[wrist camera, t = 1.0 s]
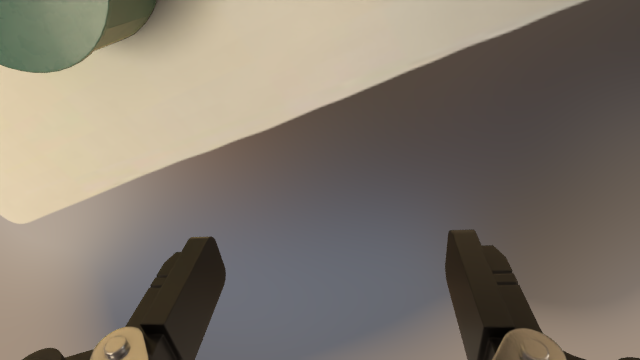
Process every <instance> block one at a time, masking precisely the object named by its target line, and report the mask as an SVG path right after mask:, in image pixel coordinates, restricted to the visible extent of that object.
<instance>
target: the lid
mask: <svg viewBox="0 0 640 360" xmlns="http://www.w3.org/2000/svg"><path fill="white" fill-rule="evenodd" d="M111 10H112V0H0V65H3V66H5V67H8V68H12V69H16V70H20V71H26V72H34V73H48V72H55V71H60V70H63V69H66V68H69V67H72V66H74V65H76V64H78V63H79V62H81V61H83V60H84V59H85V58H87V57H88V56H89V55H90V54H91V53H92V52H93V51H94V50H95V49H96V48H97V46H98V45H99V43H100V42H101V40H102V38H103V36H104V35H105V32H106V29H107V27H108V24H109V20H110V15H111Z"/></svg>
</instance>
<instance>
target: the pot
mask: <svg viewBox="0 0 640 360" xmlns="http://www.w3.org/2000/svg"><path fill="white" fill-rule="evenodd" d="M155 4H156V0H112V10H111V15H110V20H109V24H108V27H107V29H106V32H105V35H104V36H103V38H102V40H101V42H100V43H99V45H98V46H97V48H96V49H95V50H97V49H100V48H103V47H105V46H108V45H110V44H113V43H115V42H118V41H120V40H122V39H125V38H127V37H129V36H131V35H133V34H135V33H136V31H138V30H139V29H140V28H141V27H142V26H143V25H144V24H145V23H146V21H147V20H148V18H149V17H150V15H151V13H152V11H153V9H154V6H155ZM95 50H94V51H95Z"/></svg>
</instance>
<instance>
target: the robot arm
mask: <svg viewBox="0 0 640 360" xmlns="http://www.w3.org/2000/svg"><path fill="white" fill-rule="evenodd" d="M445 272H446V280H447V285H448V288H449V292H450V296H451V300H452V303H453V307H454V310H455V314H456V318H457V322H458V325H459V329H460V333H461V337H462V340H463V344H464V348H465V351H466V355H467V359H468V360H585V359H581V358H578V357H576V356H573V355H571V354H568V353H566V352H565V351H563V350H562V349H561V348H560V346H559V345H558V344H557V343H556V342H555V341H553V340H552V339H551V338H549V337H548V336H546V335H545V334H543V333H542V331H541V329H540V327H539V325H538V323H537V321H536V319H535V317H534V315H533V313H532V311H531V309H530V307H529V304H528V302H527V300H526V298H525V296H524V294H523V292H522V290H521V288H520V286H519V285H518V282H517V279H516V278H515V275H514V274H513V273H512V269H511V267H510V265H509V263H508V261H507V259H506V257H505V256H504V255H503V254H502V253H501V252H500V251H499V250H497V249H496V248H495V247H494V246H493V245H492V246H490V245H489V246H481V244H480V241H479V239H478V236H477V234H476V232H475V231H474V230H450V231H449V233H448V242H447V252H446V263H445ZM225 276H226V272H225V267H224V263H223V261H222V258H221V255H220V252H219V249H218V246H217V243H216V241H215V239H214V238H213V237H191V238H190V239H189V240H188V241H187V243H186V245H185V247H184V248H183V250H182V252H176V253H175V254H174V255H173V256H172V257H170V258H169V259H168V260H167V261H166V262H165V263H164V264H163V266H162V268H161V269H160V271H159V272H158V274H157V278H155V279H154V281H153V282H152V284H151V288H149V289H148V291H147V292H146V294H145V295H144V297H143V299H142V300H141V302H140V304H139V305H138V307H137V308H136V310H135V312H134V313H133V315H132V317H131V318H130V320H129V322H128V323H127V325H126V326H125V327H123V328H120V329H117V330H115V331H113V332H111V333H110V334H108V335H107V336H105V337H104V338H103V339H102V340H101V341H100V342H99V343H98V344H97V345H96V347H95V348H94V349H93V350H90V351H86V352H83V353H80V354H76V355H73V356H69V357H66V358H64V356H63V355H62V354H61V353H60V352H59V351H58V350H57V349H54V348H45V349H42V350H39V351H36V352H34V353H32V354H30V355H28V356H27V357H25V358H24V359H23V360H195V357H196V355H197V353H198V350H199V347H200V345H201V342H202V340H203V337H204V335H205V332H206V330H207V327H208V325H209V322H210V319H211V317H212V314H213V312H214V309H215V307H216V304H217V302H218V299H219V297H220V294H221V291H222V289H223V286H224V283H225ZM619 360H640V359H639V358H633V357H627V358H621V359H619Z"/></svg>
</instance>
